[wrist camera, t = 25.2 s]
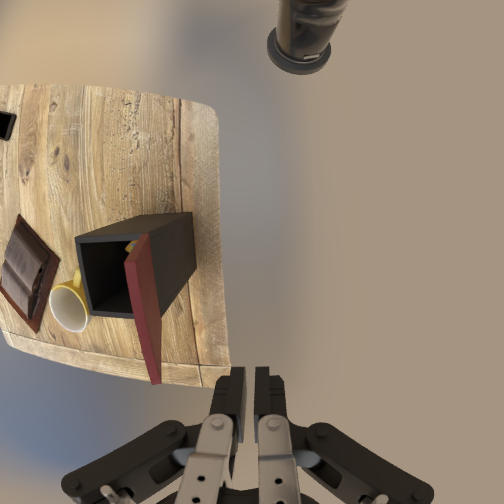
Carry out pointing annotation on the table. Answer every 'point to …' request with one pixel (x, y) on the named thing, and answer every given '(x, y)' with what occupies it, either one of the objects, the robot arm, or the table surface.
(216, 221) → the table surface
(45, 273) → the book
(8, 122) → the smartphone
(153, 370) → the red lid
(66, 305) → the mug
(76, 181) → the table surface
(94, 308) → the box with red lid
